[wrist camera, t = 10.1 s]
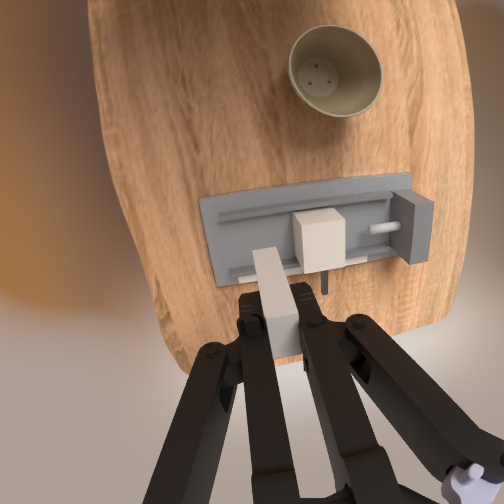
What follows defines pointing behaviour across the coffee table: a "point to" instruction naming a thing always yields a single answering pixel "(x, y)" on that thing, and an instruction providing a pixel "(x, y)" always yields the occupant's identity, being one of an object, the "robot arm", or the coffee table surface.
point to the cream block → (319, 241)
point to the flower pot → (335, 71)
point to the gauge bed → (310, 196)
